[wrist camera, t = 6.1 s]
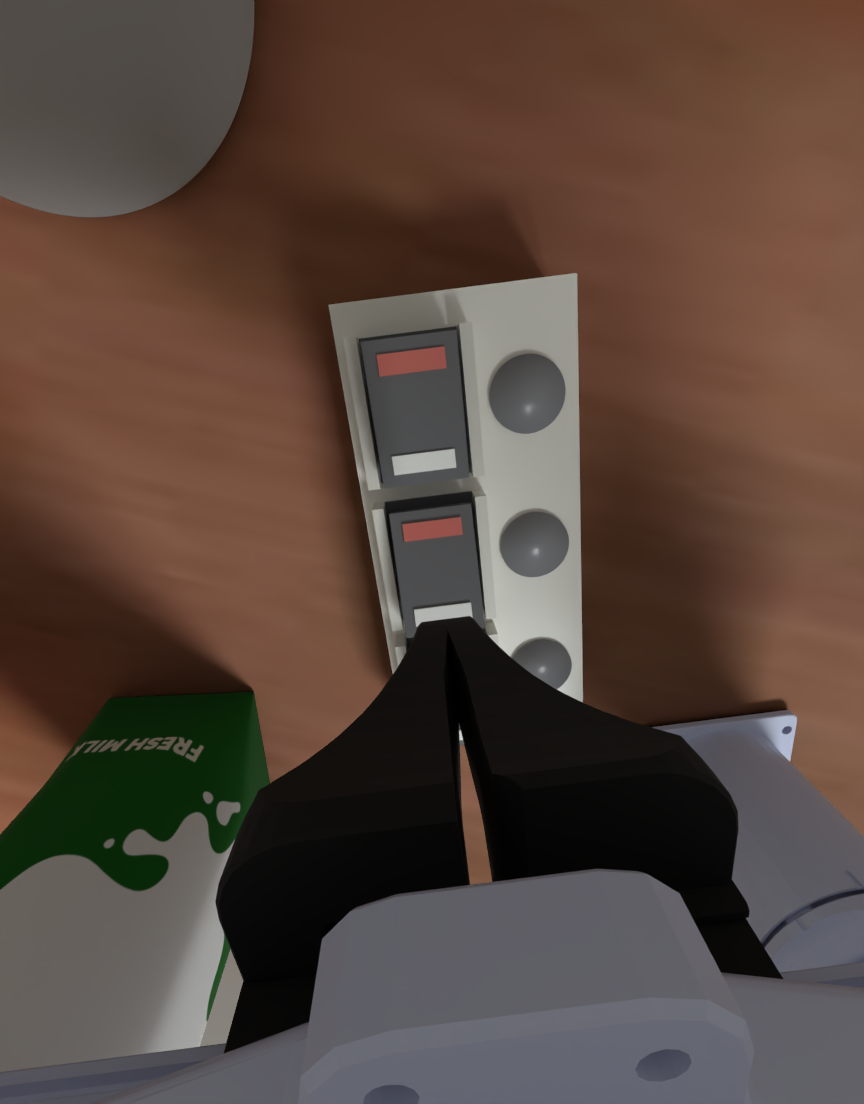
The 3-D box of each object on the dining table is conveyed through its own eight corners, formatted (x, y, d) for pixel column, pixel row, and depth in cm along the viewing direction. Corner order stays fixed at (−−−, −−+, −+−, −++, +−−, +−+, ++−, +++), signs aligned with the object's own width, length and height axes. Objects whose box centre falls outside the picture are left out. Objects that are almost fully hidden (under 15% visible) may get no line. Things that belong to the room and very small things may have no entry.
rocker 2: (480, 617, 18) (485, 629, 17) (407, 626, 18) (406, 639, 17) (467, 501, 18) (471, 503, 16) (391, 511, 18) (388, 514, 16)
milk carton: (130, 820, 26) (-582, 1952, 7) (85, 679, 23) (-1341, 2009, 4) (293, 812, 26) (8, 1879, 8) (270, 671, 23) (-302, 1882, 5)
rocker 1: (464, 467, 17) (469, 478, 16) (385, 477, 17) (383, 488, 16) (452, 331, 15) (457, 329, 14) (364, 342, 15) (360, 341, 14)
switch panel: (565, 749, 26) (591, 813, 22) (416, 768, 26) (417, 835, 22) (551, 288, 18) (587, 266, 14) (340, 315, 18) (322, 300, 14)
